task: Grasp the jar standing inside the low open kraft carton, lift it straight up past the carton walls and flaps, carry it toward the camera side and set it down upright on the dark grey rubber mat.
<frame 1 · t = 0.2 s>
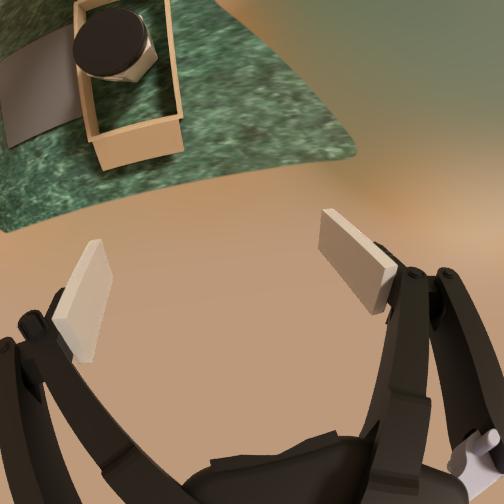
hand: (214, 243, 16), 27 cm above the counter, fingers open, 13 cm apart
carton: (128, 56, 29), on the counter
mat: (38, 84, 26), on the counter
jar: (128, 56, 29), resting in carton
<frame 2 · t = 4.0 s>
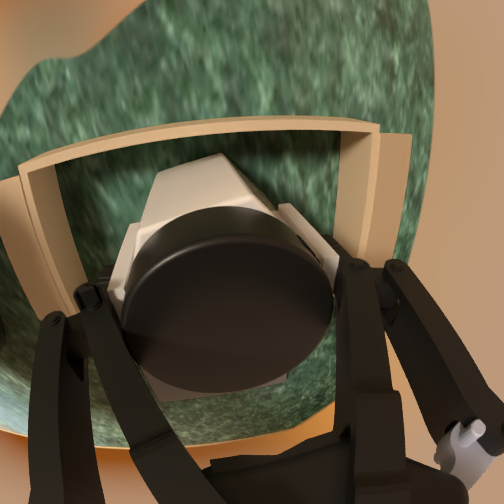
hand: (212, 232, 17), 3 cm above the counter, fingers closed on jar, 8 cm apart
carton: (204, 212, 20), on the counter
mat: (213, 351, 27), on the counter
jar: (204, 211, 20), resting in carton, touching gripper
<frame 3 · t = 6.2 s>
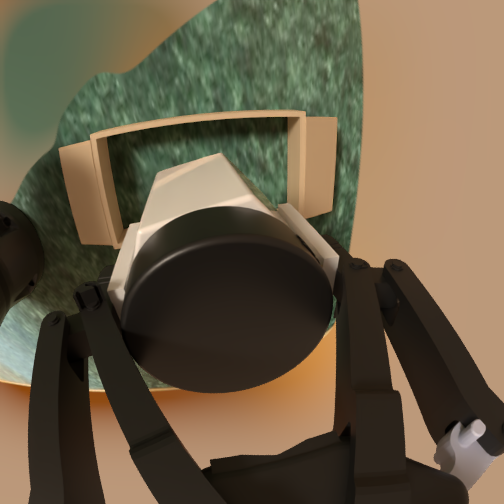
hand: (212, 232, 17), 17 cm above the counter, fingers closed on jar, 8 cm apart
carton: (200, 169, 31), on the counter
jar: (204, 211, 20), point 13 cm above the counter, touching gripper
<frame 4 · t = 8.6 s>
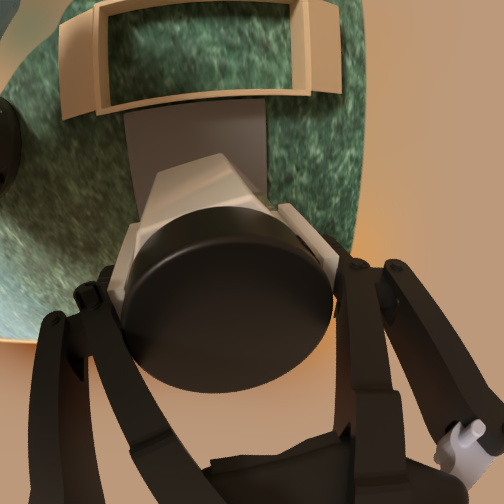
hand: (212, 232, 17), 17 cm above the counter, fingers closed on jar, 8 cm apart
carton: (200, 45, 24), on the counter
mat: (199, 169, 32), on the counter
jar: (204, 211, 20), point 14 cm above the counter, touching gripper
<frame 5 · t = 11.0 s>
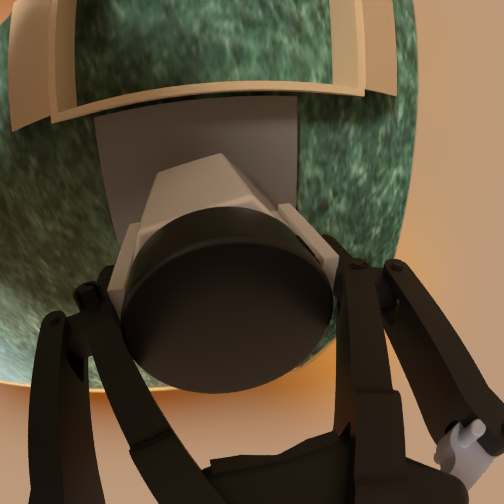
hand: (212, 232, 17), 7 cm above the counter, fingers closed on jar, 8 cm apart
carton: (205, 18, 15), on the counter
mat: (203, 195, 23), on the counter
jar: (204, 211, 20), point 3 cm above the counter, touching gripper
when the fingers open (4 cm above the counter, at t = 13.4 s): jar stays where it is, resting on mat.
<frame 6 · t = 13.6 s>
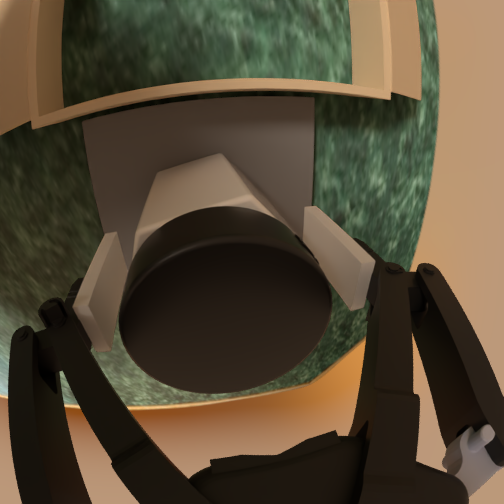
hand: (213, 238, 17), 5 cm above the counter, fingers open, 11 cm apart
carton: (210, 7, 13), on the counter
mat: (207, 209, 20), on the counter
jar: (203, 211, 20), resting on mat
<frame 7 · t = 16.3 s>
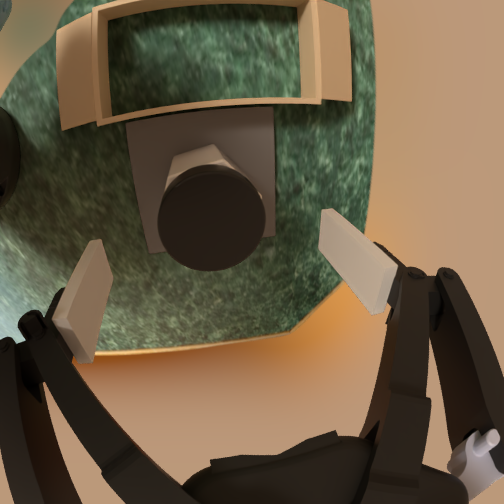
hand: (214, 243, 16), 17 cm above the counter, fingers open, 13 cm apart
carton: (205, 50, 24), on the counter
mat: (205, 180, 31), on the counter
jar: (202, 181, 31), resting on mat
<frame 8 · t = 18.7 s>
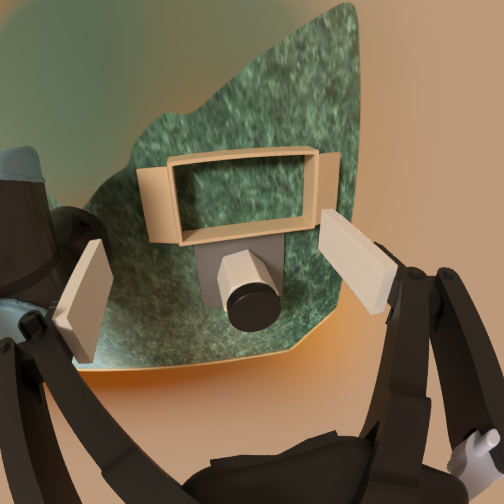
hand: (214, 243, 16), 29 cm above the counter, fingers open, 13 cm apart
carton: (242, 189, 45), on the counter
mat: (241, 268, 52), on the counter
jar: (240, 269, 52), resting on mat
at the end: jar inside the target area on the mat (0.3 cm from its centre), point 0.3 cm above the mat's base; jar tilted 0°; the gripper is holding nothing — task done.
